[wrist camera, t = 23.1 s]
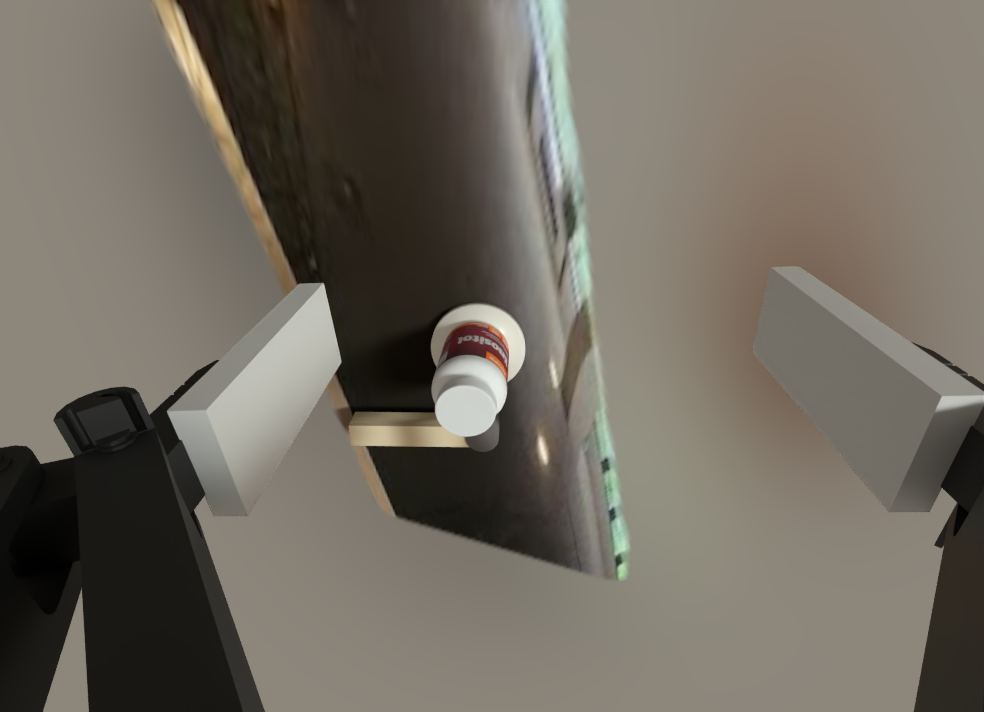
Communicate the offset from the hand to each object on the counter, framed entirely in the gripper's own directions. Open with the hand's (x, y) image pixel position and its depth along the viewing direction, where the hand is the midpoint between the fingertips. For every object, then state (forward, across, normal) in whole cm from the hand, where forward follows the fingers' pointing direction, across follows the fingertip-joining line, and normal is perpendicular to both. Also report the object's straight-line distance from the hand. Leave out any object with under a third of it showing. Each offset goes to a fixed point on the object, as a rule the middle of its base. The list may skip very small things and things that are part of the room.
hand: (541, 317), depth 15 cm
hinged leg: (+29, -10, -24) cm, 39 cm away
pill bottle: (+28, -5, -16) cm, 33 cm away
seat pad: (+29, -5, -16) cm, 34 cm away
